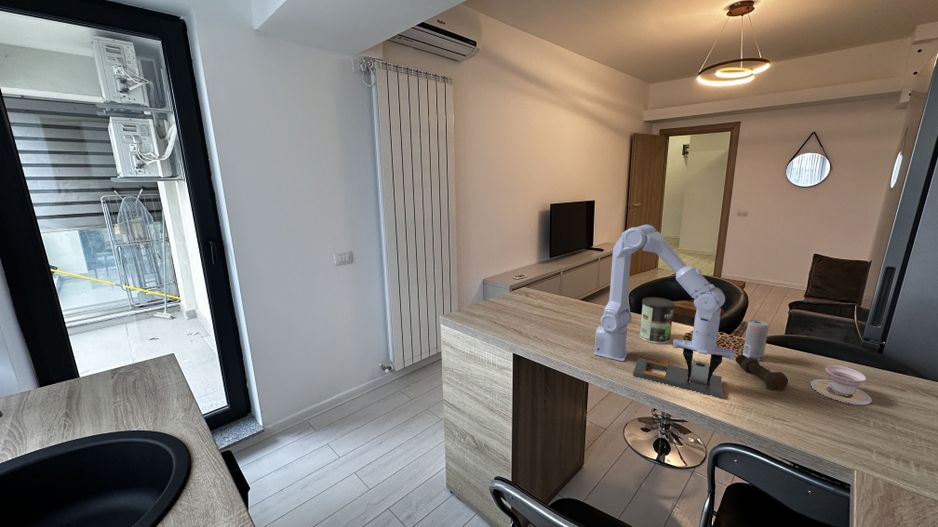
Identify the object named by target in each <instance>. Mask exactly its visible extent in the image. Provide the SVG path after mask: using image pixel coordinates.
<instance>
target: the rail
mask: <svg viewBox="0 0 938 527" xmlns="http://www.w3.org/2000/svg"><path fill="white" fill-rule="evenodd" d="M647 367H648V368H647ZM651 368H652V369H651ZM647 369H651V370H657V371H661V372H664V371H665V375H664V374H659V373H656V372H653V371H647ZM634 376H636V377H635V378H638V377H640V378H639V379H642V378H644V379H643V380H646V379H648V380H647V381H650V380H652V381H651V382H654V381H656V382H655V383H658V382H660V383H659V384H662V383H664V384H663V385H666V384H668V385H667V386H670V385H671V386H670V387H673V386H675V387H674V388H677V387H679V389H681V388H682V389H681V390H685V389H687V390H686V391H689V390H692V391H691V392H693V391H696V392H695V393H697V392H700V393H699V394H701V393H703V394H702V395H705V394H707V395H706V396H709V395H712V396H711V397H713V396H714V398H717V397H718V398H717V399H722V396H723V382H722V381H723V380H722V379H723V378H722V376H720V375H716V374H712V376H711V379H710V380H707V383H709V385H707V386H705V385H701V384H697V383H693V382H690V380H689V381H688V378H689V379H690V375H688V368H687V367H686V368H685V367H681V366H676V365H671V364H667V363H663V362H658V361H655V360H650V359H645V358H642V357H641V358H640V357H638V359H637V362H636V364H635V366H634V369H633V372H632V377H634Z"/></svg>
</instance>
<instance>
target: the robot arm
mask: <svg viewBox="0 0 938 527" xmlns="http://www.w3.org/2000/svg"><path fill="white" fill-rule="evenodd" d="M612 248H613V249H612V259H611V270H610V271H611V272H610V287H609V297H608V298H609V299H608V303H606V305H605V307H604V310H603V314H602V316H601V317H600V324H601V325H598V327H597V328H596V332H595V337H594V339H595V340H594V353H593V355H595V356H598V357H602V358H606V359H610V360H614V361H620V362H625V360H626V358H627V356H628V353H629V351H628V350H627V349H626V346H627V339H628V338H627V337H628V336H627V335H628V325H629V324H630V323H631V321H632V319H633V318H632V313H631V310H630V308H631V305H630V304H629V303H628V294H629V282H630V281H629V280H630V269H631V260H632V254H634V253H635V252H637V251H638V250H640V249H641V248H642V249H641V250H642V251H643V252H650V253H654V254H655V255H657V256H658V257H659V259H661V260H662V261H663V262H664V263H665V264H666V265H667V266H668V267H669V268H670V269H671V270H673V272H674V273H675V281H676V282H677V283H679V285H680V286H681V287H682V288H683V290H684V291H686V292H687V294H688V295H689V296H690V297H691V298H693V299H694V300H693V304H694V306H695V308H696V312H695V315H694V321H693V322H694V323H693V328H692V329H693V331H692V337H691V340H684V339H683V340H680V339H675V338H674V339H673V345H672V348H673V349H681V350H682V354H683V355H682V356H683V358H684V360H685V363H686V368H687V369H688V375H690V376H691V370H692V362H693V356H694V352H697V353H698V354H702V355H704V356H705V355H710V362H709V373H708V379H707V380H710V379H711V376H712V375H714V372H715V370H717V368H718V367H719V366H720V365H721V364H722V362H723V358H727V359H729V360H731V361H735V359H736V351H735V350H732V349H727V348H725V347H721V346H719V345H717V341H718V334H719V327H720V323H721V322H720V321H721V311H722V308H721V307H722V306H723V305H724V304H725V302H726V296H725V294H724V292H723V290H722V289H720V288H719V287H715V285H714V284H713V283H712V284H711V283H710V281H708V280H707V278H705V277H704V275H702V274H703V271H702V270H701V269H700V268H697V269H696V267H695V266H690V265H687V264H686V263H685V262H684V261H683V259H681V257H680V256H679V255H678V254H677V253H676V252H675V250H674V249H673V247H671V245H670V244H669V243H668V242H667V241H666V239H665V238H664V237H663V235H662V233H661V232H659V231H657V230H656V228H655V227H654V226H653V225H650V224H643V225H640V226H636V227H635V226H634V227H630V228H628V229H626V230H625V231H623V232H621V234H620V237H619V239H618V240H617V241H616V243H615V245H614V246H613V247H612Z"/></svg>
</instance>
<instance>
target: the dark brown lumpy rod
mask: <svg viewBox="0 0 938 527" xmlns="http://www.w3.org/2000/svg"><path fill="white" fill-rule="evenodd" d="M734 361H735V362H736V364H738V365H739V366H741V369H742V371H744V372H745V373H746V374H747V373H748V374H753V375H755V376H756V377H758V379H759V378H760V380H763V381H764V383H765V385H766V387H767V389H768V390H770V391H772V392H782V391H783V390H785V389H786V388H787V387H788V384H789V379H788V377H787V376H786V374H785V373H784V372H782V371H770V369H767V368H766V367H764V366H763V365H761V363H760V362H759V361H758V360H757V359H755V358H750V357H749V358H748V357H746V356H744V355H743V354H738V355H736V356H735V358H734Z"/></svg>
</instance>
